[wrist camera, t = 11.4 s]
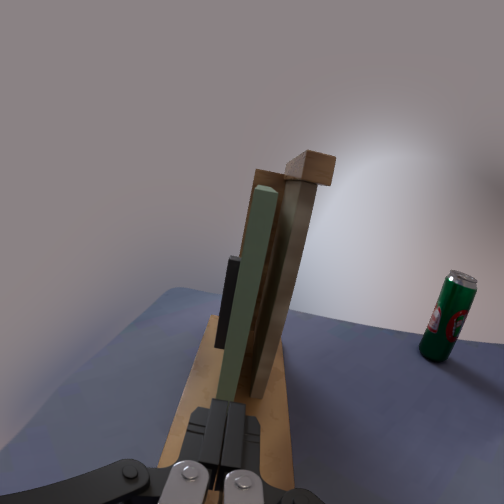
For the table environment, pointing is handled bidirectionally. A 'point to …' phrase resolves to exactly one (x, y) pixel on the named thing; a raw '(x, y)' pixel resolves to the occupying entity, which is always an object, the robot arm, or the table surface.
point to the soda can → (448, 316)
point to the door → (243, 291)
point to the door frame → (262, 327)
